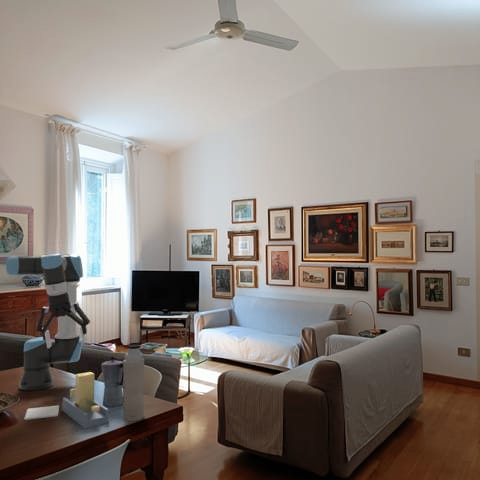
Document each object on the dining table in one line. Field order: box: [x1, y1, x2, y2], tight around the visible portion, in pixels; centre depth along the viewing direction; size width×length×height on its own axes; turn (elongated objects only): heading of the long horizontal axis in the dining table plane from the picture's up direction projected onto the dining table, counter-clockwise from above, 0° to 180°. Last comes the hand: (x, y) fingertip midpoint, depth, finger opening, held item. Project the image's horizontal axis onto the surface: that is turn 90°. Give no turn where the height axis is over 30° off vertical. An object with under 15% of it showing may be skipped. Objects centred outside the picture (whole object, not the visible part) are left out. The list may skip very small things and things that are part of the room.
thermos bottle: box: [122, 344, 145, 422], centre depth 170 cm, size 8×8×28 cm
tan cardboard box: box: [74, 371, 95, 412], centre depth 171 cm, size 4×6×14 cm, turn 130°
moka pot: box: [100, 356, 123, 407], centre depth 185 cm, size 10×15×20 cm, turn 55°
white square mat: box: [23, 405, 60, 421], centre depth 174 cm, size 12×12×1 cm
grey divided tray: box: [62, 387, 110, 429], centre depth 171 cm, size 25×9×8 cm, turn 40°
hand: (66, 344), depth 172 cm, fingers open, 13 cm apart
